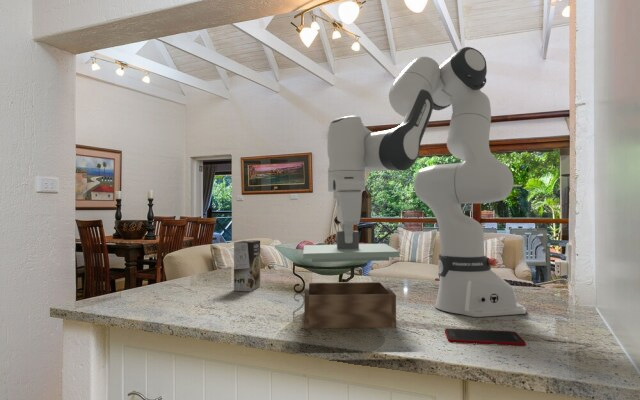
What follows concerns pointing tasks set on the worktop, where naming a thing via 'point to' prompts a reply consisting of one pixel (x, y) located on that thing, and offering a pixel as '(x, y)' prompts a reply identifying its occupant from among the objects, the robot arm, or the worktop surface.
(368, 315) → the box
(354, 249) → the lid
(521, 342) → the cell phone
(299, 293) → the worktop surface
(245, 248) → the coffee box
